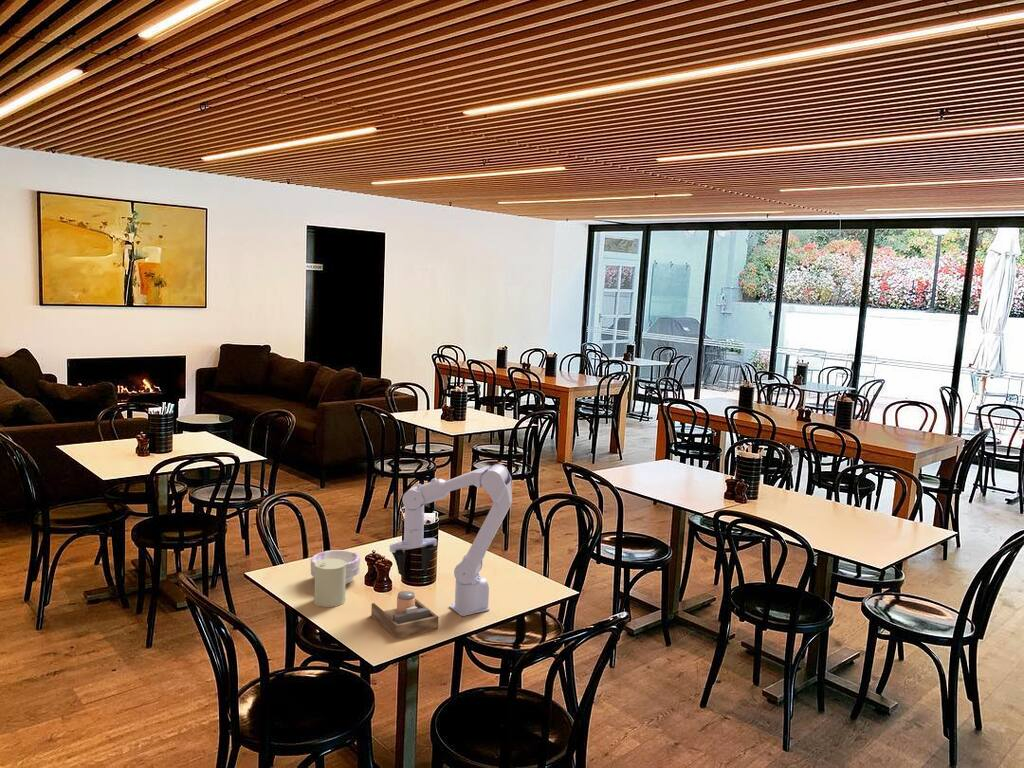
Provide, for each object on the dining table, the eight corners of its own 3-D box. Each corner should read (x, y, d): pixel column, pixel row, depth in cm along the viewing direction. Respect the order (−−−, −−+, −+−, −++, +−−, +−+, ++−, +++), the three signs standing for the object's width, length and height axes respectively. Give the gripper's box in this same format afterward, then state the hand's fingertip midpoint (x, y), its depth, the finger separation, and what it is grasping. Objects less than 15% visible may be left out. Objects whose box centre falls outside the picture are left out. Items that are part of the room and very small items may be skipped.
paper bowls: (311, 573, 260) (311, 549, 259) (359, 571, 263) (359, 548, 262) (309, 591, 245) (309, 566, 244) (359, 589, 248) (360, 564, 247)
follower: (426, 620, 227) (426, 603, 226) (429, 623, 225) (429, 605, 224) (392, 628, 221) (393, 610, 220) (395, 630, 219) (396, 612, 219)
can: (307, 600, 239) (308, 561, 237) (334, 592, 245) (335, 554, 244) (324, 609, 232) (325, 569, 231) (351, 601, 239) (352, 562, 237)
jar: (410, 616, 229) (410, 589, 228) (417, 623, 225) (418, 595, 224) (393, 619, 227) (394, 592, 226) (400, 626, 223) (401, 598, 221)
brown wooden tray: (411, 606, 237) (411, 595, 237) (438, 628, 223) (438, 616, 223) (371, 615, 230) (371, 603, 230) (396, 638, 216) (396, 625, 216)
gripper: (429, 520, 245) (428, 563, 247) (385, 527, 237) (384, 571, 239) (440, 527, 239) (439, 571, 241) (395, 533, 231) (394, 579, 233)
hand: (412, 571), depth 239 cm, fingers open, 7 cm apart
